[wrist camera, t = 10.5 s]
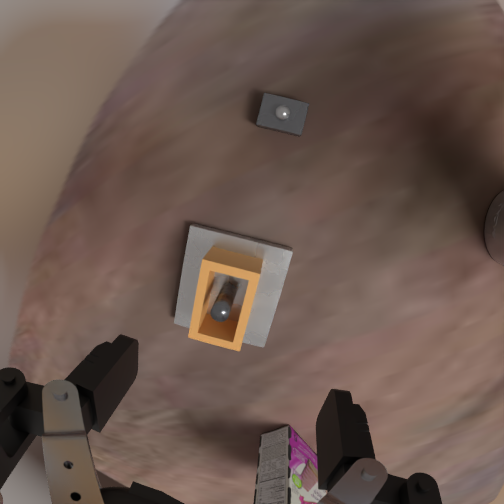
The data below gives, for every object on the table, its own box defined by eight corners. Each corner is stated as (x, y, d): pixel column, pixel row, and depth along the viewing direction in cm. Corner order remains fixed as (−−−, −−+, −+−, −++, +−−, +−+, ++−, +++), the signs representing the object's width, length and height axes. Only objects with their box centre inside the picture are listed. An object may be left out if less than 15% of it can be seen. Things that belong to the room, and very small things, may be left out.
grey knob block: (307, 107, 27) (309, 101, 24) (299, 137, 28) (301, 134, 25) (265, 97, 27) (263, 90, 24) (257, 126, 28) (255, 123, 25)
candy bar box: (325, 460, 40) (331, 549, 24) (296, 469, 41) (295, 556, 25) (290, 422, 37) (289, 527, 22) (258, 433, 39) (246, 533, 23)
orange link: (263, 259, 30) (260, 274, 26) (244, 330, 32) (239, 351, 29) (212, 246, 30) (202, 259, 26) (198, 317, 33) (188, 337, 29)
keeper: (292, 248, 31) (294, 269, 25) (264, 341, 34) (260, 376, 28) (193, 223, 31) (173, 238, 25) (177, 318, 34) (158, 347, 28)
